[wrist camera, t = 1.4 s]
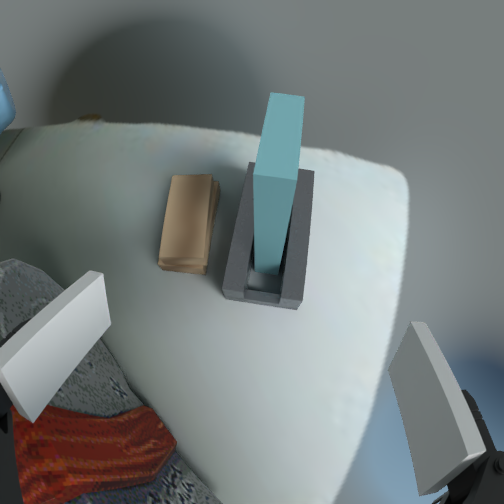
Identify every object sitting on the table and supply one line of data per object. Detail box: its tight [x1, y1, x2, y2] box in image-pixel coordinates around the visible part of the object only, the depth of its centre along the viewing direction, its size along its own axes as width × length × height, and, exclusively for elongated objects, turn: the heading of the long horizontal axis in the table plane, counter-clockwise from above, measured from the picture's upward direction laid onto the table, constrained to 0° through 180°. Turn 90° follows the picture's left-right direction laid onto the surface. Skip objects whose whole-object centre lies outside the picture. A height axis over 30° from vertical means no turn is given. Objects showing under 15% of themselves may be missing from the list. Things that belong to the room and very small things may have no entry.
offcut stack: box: [158, 174, 220, 275], centre depth 32 cm, size 5×11×4 cm, turn 174°
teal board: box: [253, 93, 305, 275], centre depth 26 cm, size 2×8×17 cm, turn 171°
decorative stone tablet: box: [0, 259, 223, 504], centre depth 18 cm, size 19×6×30 cm
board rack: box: [222, 162, 314, 310], centre depth 32 cm, size 8×15×4 cm, turn 171°
